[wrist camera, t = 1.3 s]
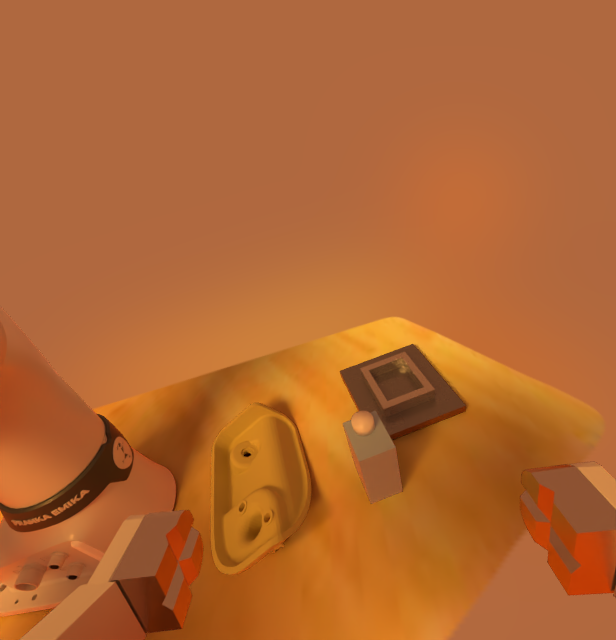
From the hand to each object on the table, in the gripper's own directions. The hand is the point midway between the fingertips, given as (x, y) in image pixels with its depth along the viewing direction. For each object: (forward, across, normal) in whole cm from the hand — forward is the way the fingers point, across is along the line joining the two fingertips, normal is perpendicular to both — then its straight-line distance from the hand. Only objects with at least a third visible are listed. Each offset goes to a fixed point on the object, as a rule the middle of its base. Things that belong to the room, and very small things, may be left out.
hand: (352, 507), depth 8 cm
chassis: (+38, +8, -23) cm, 45 cm away
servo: (+26, +2, -26) cm, 37 cm away
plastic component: (+26, -12, -28) cm, 40 cm away
